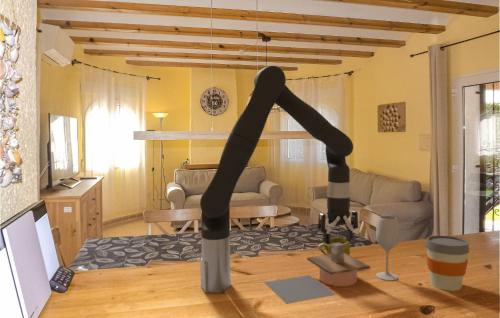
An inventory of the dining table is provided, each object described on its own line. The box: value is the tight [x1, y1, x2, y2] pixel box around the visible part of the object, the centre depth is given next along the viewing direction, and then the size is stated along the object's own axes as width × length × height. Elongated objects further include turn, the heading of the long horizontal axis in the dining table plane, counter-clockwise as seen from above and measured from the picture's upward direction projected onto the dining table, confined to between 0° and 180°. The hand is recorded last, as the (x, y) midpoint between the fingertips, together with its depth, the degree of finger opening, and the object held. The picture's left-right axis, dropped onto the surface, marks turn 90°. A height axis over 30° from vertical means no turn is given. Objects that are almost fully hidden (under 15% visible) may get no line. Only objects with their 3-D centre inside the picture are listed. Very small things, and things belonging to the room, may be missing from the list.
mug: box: [317, 236, 351, 256], centre depth 150 cm, size 12×10×10 cm
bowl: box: [319, 268, 358, 287], centre depth 129 cm, size 12×12×6 cm
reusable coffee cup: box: [425, 234, 470, 292], centre depth 125 cm, size 13×13×15 cm
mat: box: [263, 274, 337, 305], centre depth 122 cm, size 17×17×1 cm
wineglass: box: [375, 215, 400, 282], centre depth 132 cm, size 8×8×21 cm
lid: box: [306, 243, 371, 275], centre depth 129 cm, size 15×15×7 cm
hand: (338, 242), depth 128 cm, fingers open, 8 cm apart
